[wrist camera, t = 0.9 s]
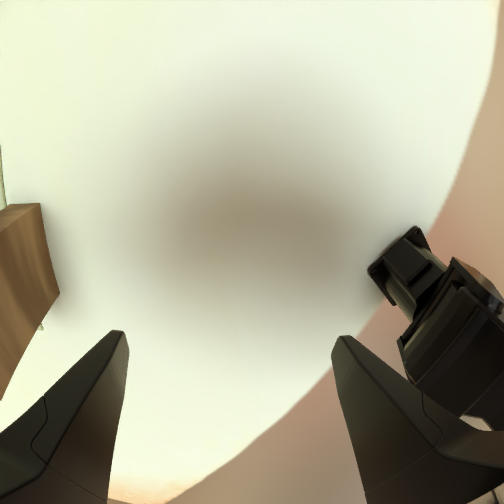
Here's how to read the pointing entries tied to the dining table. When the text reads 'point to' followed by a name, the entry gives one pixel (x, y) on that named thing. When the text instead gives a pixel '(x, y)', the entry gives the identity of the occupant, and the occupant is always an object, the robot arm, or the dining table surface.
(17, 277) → the slab
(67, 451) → the robot arm
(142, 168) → the dining table surface
